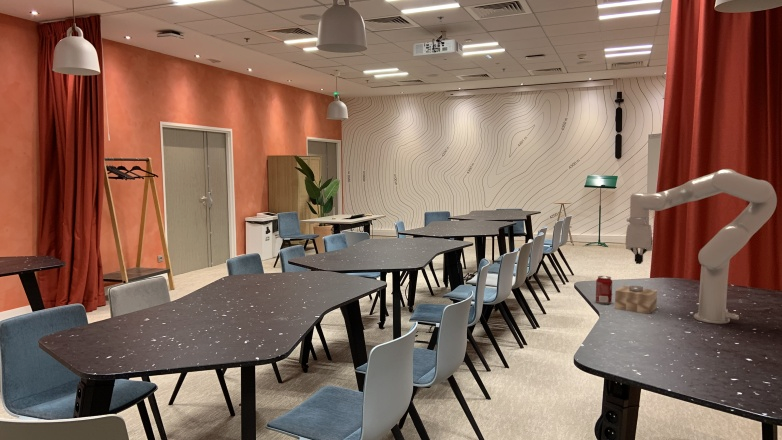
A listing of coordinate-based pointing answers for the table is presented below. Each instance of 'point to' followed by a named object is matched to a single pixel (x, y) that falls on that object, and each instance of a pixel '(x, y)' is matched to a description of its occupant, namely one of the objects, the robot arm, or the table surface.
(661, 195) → the robot arm
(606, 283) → the soda can
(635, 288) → the pin
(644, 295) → the block
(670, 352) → the table surface
